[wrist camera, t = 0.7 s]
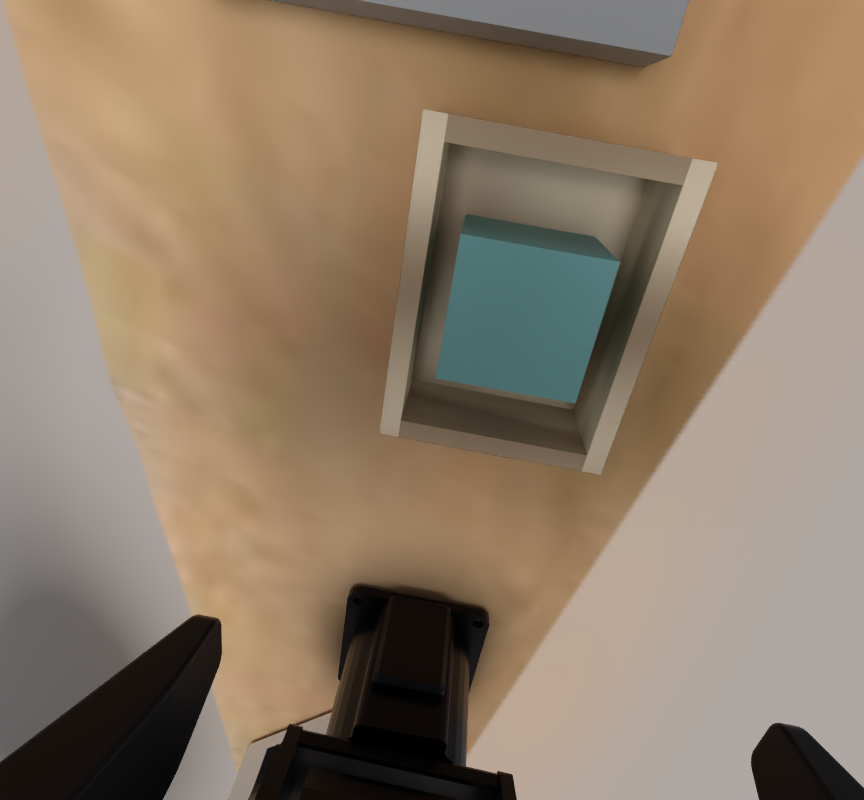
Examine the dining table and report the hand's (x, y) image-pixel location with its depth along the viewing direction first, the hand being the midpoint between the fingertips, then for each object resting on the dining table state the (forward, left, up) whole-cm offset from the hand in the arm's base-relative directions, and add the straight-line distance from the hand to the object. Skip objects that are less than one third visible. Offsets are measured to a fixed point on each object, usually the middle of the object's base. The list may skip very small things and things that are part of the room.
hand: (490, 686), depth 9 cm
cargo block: (+4, 0, -12) cm, 12 cm away
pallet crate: (+4, 0, -13) cm, 13 cm away
